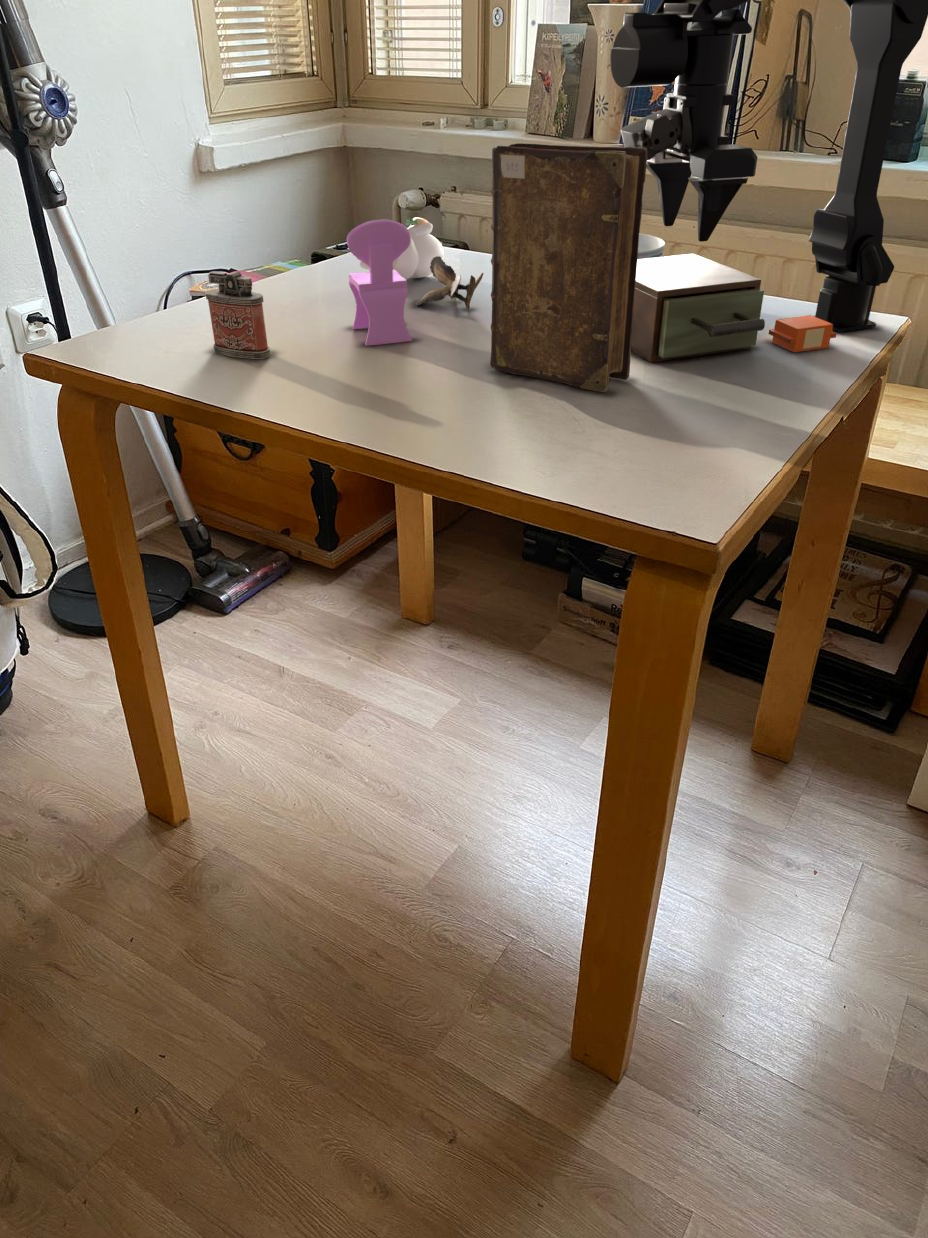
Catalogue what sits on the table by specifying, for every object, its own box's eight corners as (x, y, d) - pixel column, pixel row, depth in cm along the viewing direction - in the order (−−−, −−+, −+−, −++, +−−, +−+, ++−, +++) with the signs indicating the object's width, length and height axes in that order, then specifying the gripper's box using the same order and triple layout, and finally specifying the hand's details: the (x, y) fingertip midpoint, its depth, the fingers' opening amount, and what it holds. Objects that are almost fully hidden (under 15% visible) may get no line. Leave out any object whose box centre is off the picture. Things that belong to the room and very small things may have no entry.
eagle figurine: (486, 292, 141) (433, 275, 143) (482, 257, 135) (427, 240, 137) (463, 330, 139) (410, 312, 141) (458, 297, 132) (402, 278, 135)
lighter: (275, 352, 122) (265, 272, 116) (260, 360, 119) (249, 278, 114) (224, 345, 124) (212, 266, 119) (208, 352, 122) (195, 272, 116)
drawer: (781, 358, 115) (791, 301, 111) (686, 371, 111) (693, 313, 107) (693, 316, 130) (699, 264, 127) (607, 326, 127) (611, 274, 123)
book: (483, 369, 115) (483, 142, 102) (515, 354, 120) (520, 135, 106) (603, 396, 107) (621, 153, 93) (632, 379, 112) (654, 145, 98)
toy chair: (402, 322, 132) (397, 207, 124) (419, 340, 125) (415, 219, 117) (344, 328, 130) (335, 211, 122) (358, 346, 123) (349, 224, 115)
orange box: (766, 342, 123) (770, 319, 121) (810, 336, 125) (815, 313, 123) (788, 353, 119) (792, 329, 118) (834, 346, 121) (839, 323, 120)
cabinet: (750, 348, 121) (761, 279, 116) (650, 362, 117) (658, 291, 112) (685, 316, 133) (693, 253, 129) (593, 328, 129) (597, 263, 124)
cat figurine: (440, 209, 153) (362, 209, 144) (464, 243, 150) (386, 245, 142) (419, 257, 160) (344, 259, 152) (442, 290, 158) (366, 295, 149)
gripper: (601, 80, 110) (593, 222, 119) (670, 92, 95) (655, 254, 103) (688, 77, 112) (674, 217, 121) (770, 88, 97) (747, 247, 106)
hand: (685, 233), depth 113 cm, fingers open, 9 cm apart
